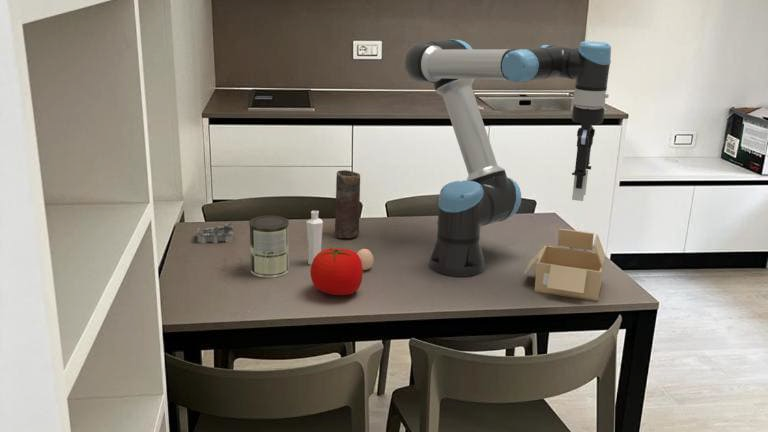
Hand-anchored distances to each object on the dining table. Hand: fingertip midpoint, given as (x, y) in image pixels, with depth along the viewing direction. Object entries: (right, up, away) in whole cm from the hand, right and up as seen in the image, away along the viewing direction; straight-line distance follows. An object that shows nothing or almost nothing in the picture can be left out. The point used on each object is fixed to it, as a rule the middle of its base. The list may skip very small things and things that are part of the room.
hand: (578, 196), depth 201 cm
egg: (-55, -20, +15) cm, 60 cm away
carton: (-1, -24, +8) cm, 25 cm away
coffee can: (-80, -20, +12) cm, 84 cm away
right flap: (+7, -17, +3) cm, 18 cm away
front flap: (-3, -18, -1) cm, 18 cm away
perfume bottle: (-69, -18, +18) cm, 73 cm away
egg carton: (-100, -12, +34) cm, 106 cm away
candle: (-61, -11, +40) cm, 74 cm away
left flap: (-8, -15, +8) cm, 18 cm away
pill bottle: (+6, -18, +26) cm, 32 cm away
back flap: (+2, -14, +11) cm, 18 cm away
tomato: (-62, -24, 0) cm, 66 cm away
